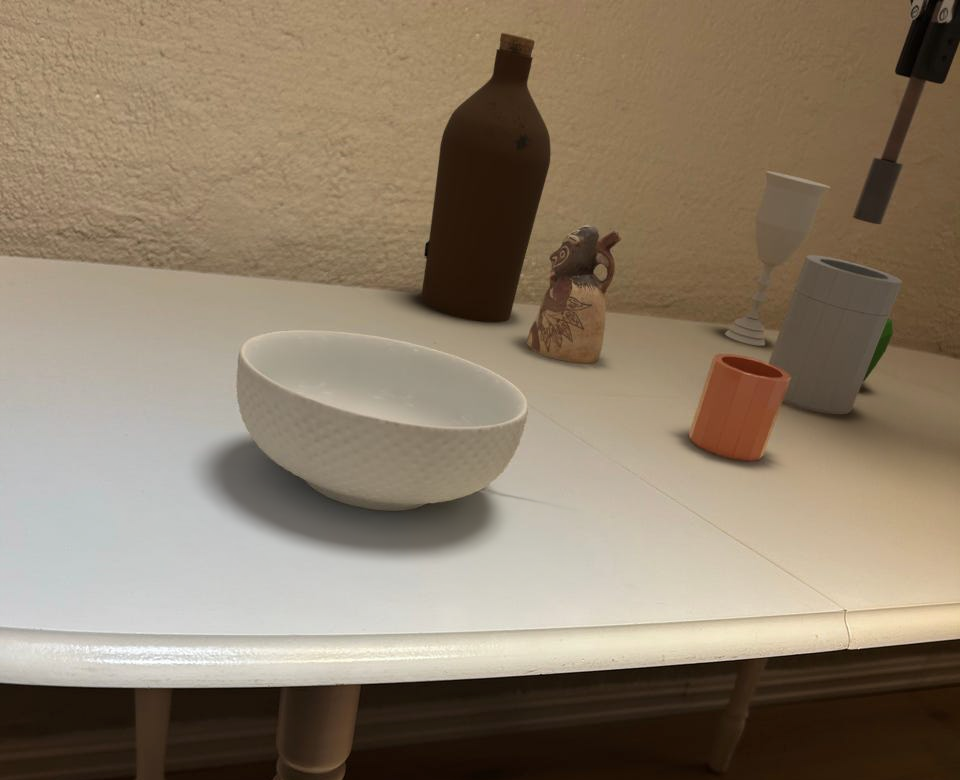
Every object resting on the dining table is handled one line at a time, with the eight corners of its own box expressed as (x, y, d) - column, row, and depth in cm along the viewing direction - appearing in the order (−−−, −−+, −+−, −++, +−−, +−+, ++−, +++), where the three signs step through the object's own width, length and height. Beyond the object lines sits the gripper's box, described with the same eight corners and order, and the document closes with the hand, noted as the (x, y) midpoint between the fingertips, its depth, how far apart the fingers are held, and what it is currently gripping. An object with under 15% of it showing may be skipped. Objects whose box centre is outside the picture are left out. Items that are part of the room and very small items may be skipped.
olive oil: (534, 321, 110) (594, 54, 97) (477, 330, 101) (536, 40, 89) (453, 291, 114) (502, 32, 102) (393, 298, 106) (438, 17, 93)
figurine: (537, 338, 103) (566, 212, 98) (604, 359, 102) (638, 231, 96) (515, 351, 97) (545, 217, 91) (587, 373, 96) (622, 238, 90)
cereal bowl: (559, 522, 64) (588, 413, 61) (346, 571, 53) (367, 440, 50) (385, 421, 74) (401, 321, 70) (173, 444, 62) (180, 327, 59)
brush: (876, 221, 94) (955, 6, 86) (884, 226, 92) (967, 5, 84) (848, 215, 94) (925, -1, 86) (857, 219, 92) (936, -2, 84)
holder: (752, 446, 87) (781, 364, 83) (766, 472, 82) (798, 386, 78) (682, 431, 87) (709, 348, 83) (692, 456, 81) (721, 369, 78)
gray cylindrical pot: (836, 397, 108) (885, 270, 102) (859, 425, 100) (914, 288, 94) (752, 379, 108) (797, 249, 101) (769, 405, 100) (819, 266, 93)
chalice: (711, 337, 122) (763, 172, 113) (717, 327, 127) (767, 169, 118) (772, 354, 120) (829, 189, 111) (776, 343, 126) (831, 185, 117)
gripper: (1136, -187, 74) (1019, 99, 83) (980, -171, 86) (892, 77, 95) (1062, -220, 71) (948, 81, 80) (911, -198, 83) (827, 61, 92)
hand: (919, 77), depth 88 cm, fingers closed on brush, 1 cm apart
